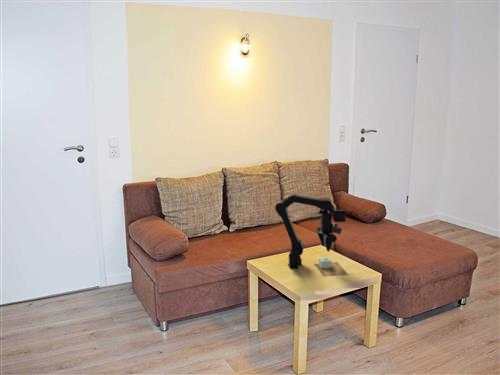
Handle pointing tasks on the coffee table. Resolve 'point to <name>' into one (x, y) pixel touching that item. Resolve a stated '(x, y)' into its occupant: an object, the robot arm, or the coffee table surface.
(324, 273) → the board
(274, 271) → the coffee table surface
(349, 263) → the coffee table surface
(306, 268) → the coffee table surface
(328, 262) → the pale green knobbed block
